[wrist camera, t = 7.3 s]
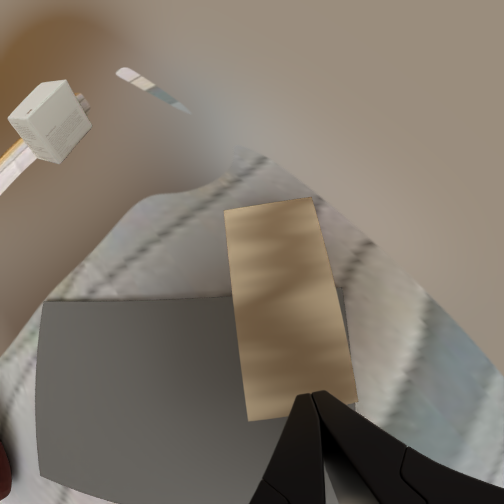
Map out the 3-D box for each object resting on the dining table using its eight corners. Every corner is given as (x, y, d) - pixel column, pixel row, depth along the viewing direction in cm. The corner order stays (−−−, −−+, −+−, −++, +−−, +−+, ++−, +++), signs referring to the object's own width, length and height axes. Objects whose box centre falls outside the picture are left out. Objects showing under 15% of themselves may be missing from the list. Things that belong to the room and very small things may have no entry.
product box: (95, 126, 28) (67, 78, 22) (60, 166, 26) (25, 119, 20) (67, 123, 30) (42, 81, 23) (36, 158, 28) (5, 118, 21)
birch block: (248, 421, 11) (223, 210, 15) (257, 413, 15) (236, 250, 19) (358, 401, 11) (311, 197, 15) (338, 399, 15) (306, 239, 19)
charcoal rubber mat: (43, 475, 13) (40, 475, 13) (46, 303, 19) (43, 301, 19) (355, 509, 12) (357, 511, 11) (340, 289, 18) (342, 287, 17)
